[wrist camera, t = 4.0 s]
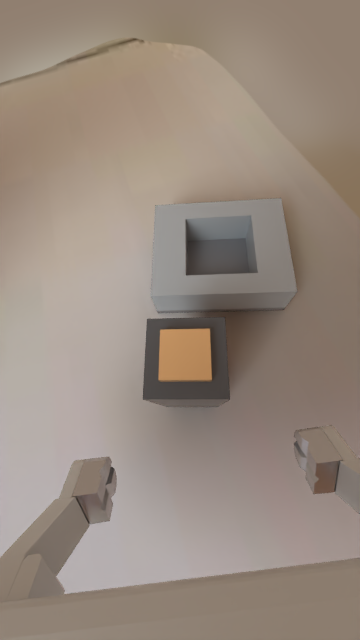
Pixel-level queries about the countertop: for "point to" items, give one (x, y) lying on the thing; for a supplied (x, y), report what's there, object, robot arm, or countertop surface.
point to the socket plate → (221, 257)
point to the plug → (186, 362)
